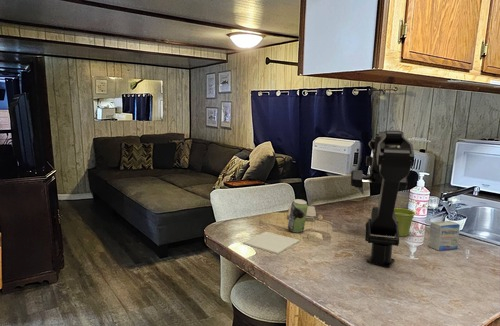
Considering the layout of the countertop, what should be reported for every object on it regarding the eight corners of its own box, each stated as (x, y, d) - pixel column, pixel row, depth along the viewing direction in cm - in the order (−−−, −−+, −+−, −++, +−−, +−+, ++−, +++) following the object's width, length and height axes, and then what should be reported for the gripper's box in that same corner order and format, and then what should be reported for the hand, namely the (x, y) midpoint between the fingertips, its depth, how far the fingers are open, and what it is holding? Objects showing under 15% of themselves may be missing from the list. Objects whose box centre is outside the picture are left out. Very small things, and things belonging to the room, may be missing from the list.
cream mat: (277, 254, 107) (277, 252, 107) (242, 243, 115) (242, 242, 115) (299, 241, 118) (299, 240, 118) (266, 232, 127) (266, 231, 127)
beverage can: (293, 227, 134) (294, 196, 132) (309, 231, 129) (311, 200, 127) (284, 231, 129) (285, 199, 127) (301, 235, 124) (302, 203, 123)
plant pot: (391, 238, 123) (393, 214, 122) (382, 229, 133) (383, 207, 132) (417, 238, 123) (419, 215, 122) (406, 230, 132) (408, 208, 131)
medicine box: (438, 251, 112) (440, 225, 111) (428, 246, 116) (430, 221, 115) (457, 249, 114) (460, 224, 113) (446, 244, 118) (449, 220, 117)
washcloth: (287, 221, 142) (287, 214, 142) (288, 209, 160) (288, 203, 159) (316, 223, 141) (317, 215, 140) (313, 211, 158) (314, 204, 158)
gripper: (408, 150, 120) (401, 179, 131) (352, 148, 125) (350, 176, 136) (411, 173, 113) (403, 202, 124) (351, 170, 118) (349, 198, 129)
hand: (375, 194), depth 128 cm, fingers open, 9 cm apart
